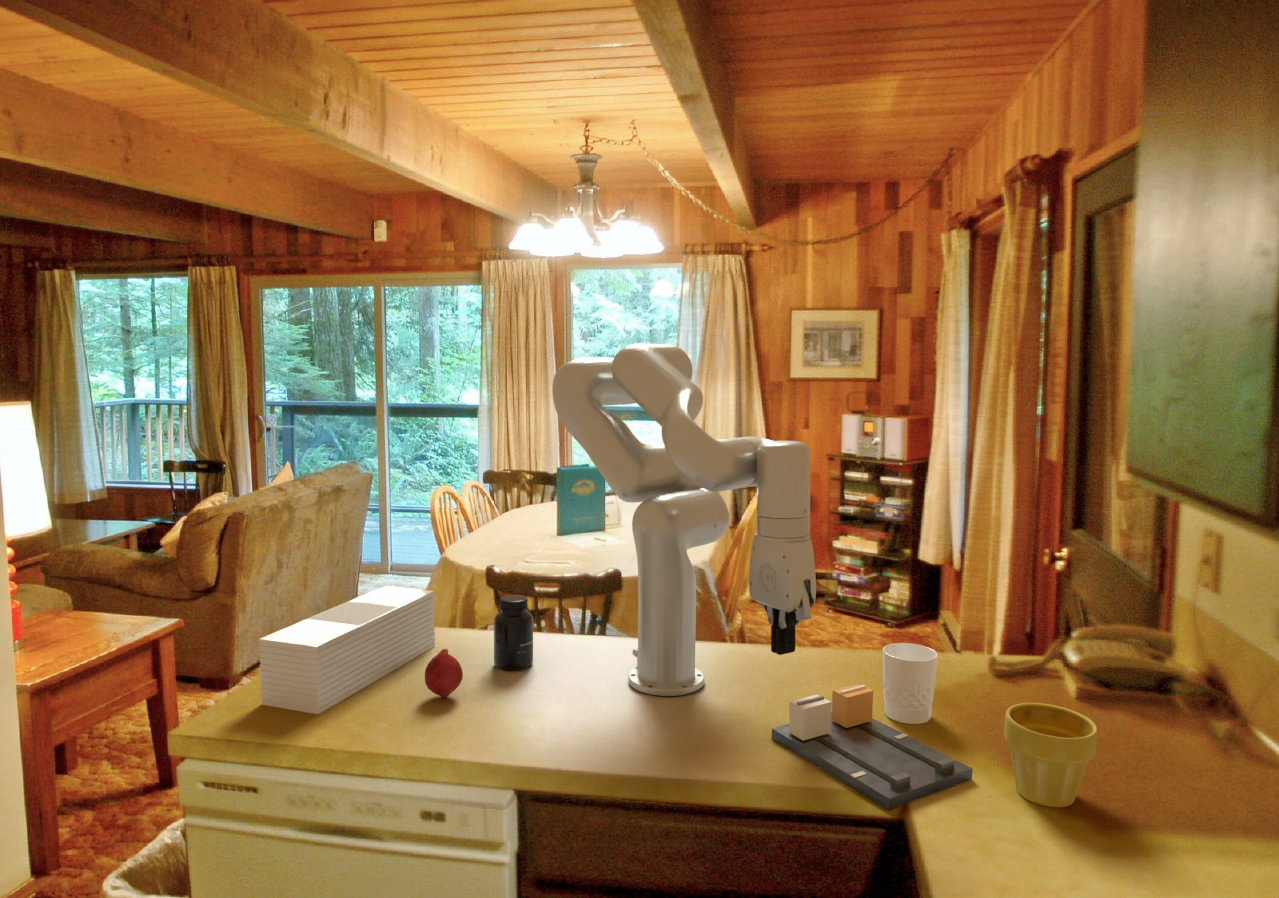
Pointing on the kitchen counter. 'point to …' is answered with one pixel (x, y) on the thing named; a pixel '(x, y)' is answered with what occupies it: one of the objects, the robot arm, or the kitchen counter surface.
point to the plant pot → (1049, 751)
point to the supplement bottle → (513, 634)
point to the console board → (878, 761)
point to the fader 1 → (810, 717)
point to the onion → (443, 674)
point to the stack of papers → (345, 648)
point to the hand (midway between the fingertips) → (783, 651)
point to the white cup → (909, 682)
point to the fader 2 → (852, 705)
